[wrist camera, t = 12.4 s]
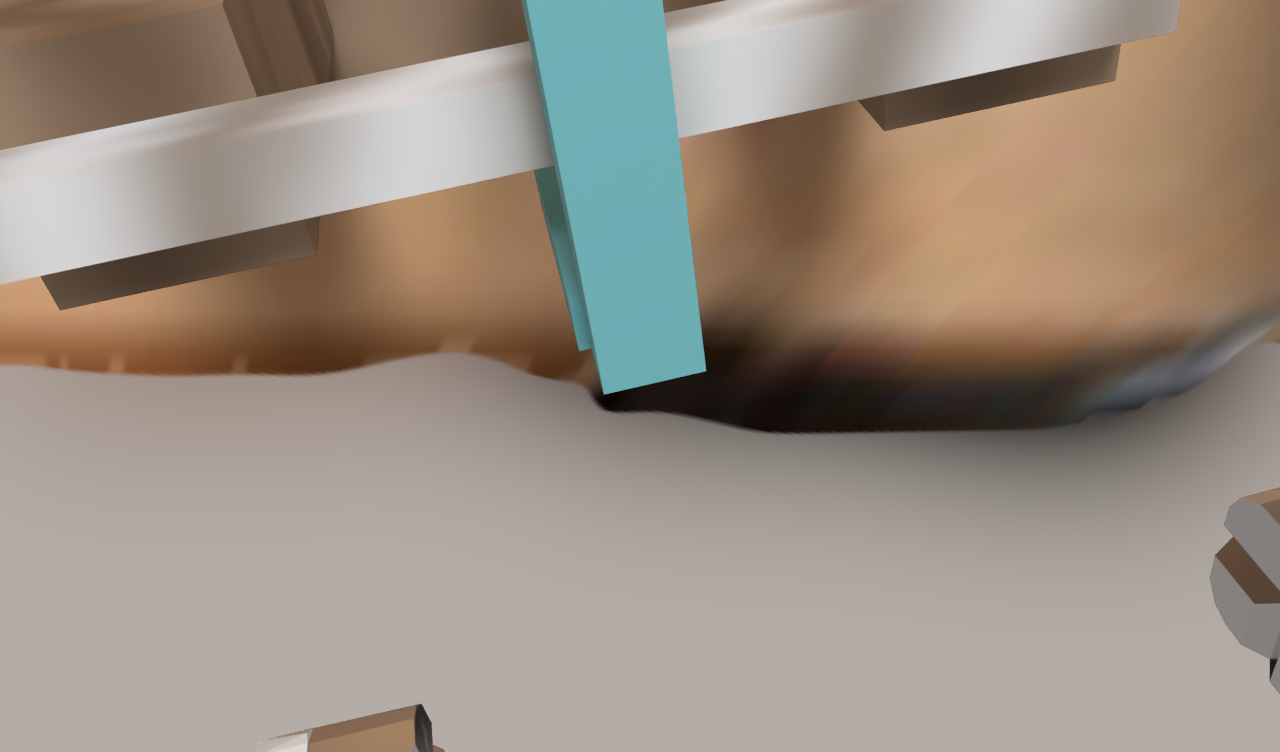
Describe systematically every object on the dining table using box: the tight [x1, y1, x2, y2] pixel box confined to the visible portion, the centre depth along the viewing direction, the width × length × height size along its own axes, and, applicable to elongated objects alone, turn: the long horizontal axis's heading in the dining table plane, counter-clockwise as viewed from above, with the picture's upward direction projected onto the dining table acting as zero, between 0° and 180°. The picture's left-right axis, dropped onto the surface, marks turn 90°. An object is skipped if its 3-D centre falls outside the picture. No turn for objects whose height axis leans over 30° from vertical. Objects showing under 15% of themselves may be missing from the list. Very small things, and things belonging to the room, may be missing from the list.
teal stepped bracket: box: [521, 0, 706, 394], centre depth 25 cm, size 3×12×9 cm, turn 8°
